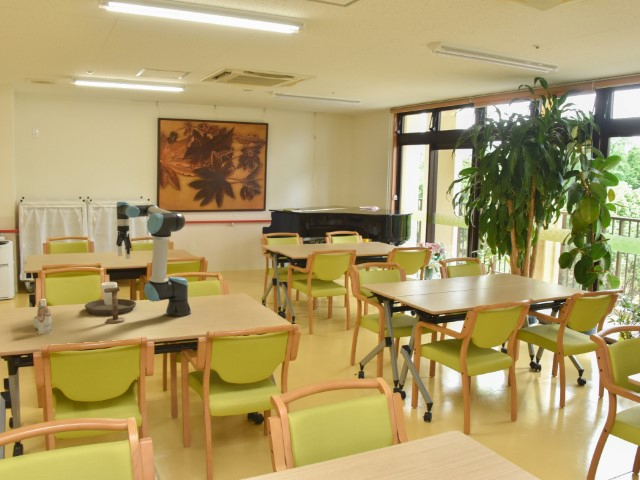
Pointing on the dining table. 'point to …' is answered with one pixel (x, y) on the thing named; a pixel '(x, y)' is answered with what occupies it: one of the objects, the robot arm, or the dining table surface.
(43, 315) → the cosmetic set
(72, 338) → the dining table surface
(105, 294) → the foam cup
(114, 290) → the walnut post
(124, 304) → the plant saucer
